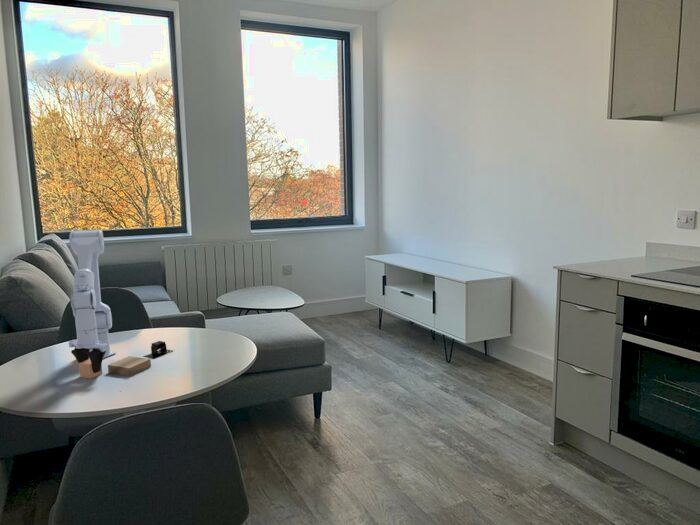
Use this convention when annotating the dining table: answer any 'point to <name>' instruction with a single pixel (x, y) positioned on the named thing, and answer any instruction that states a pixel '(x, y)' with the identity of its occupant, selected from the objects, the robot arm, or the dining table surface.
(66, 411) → the dining table surface
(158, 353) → the black slotted bracket
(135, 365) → the walnut slab
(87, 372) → the terracotta cube
